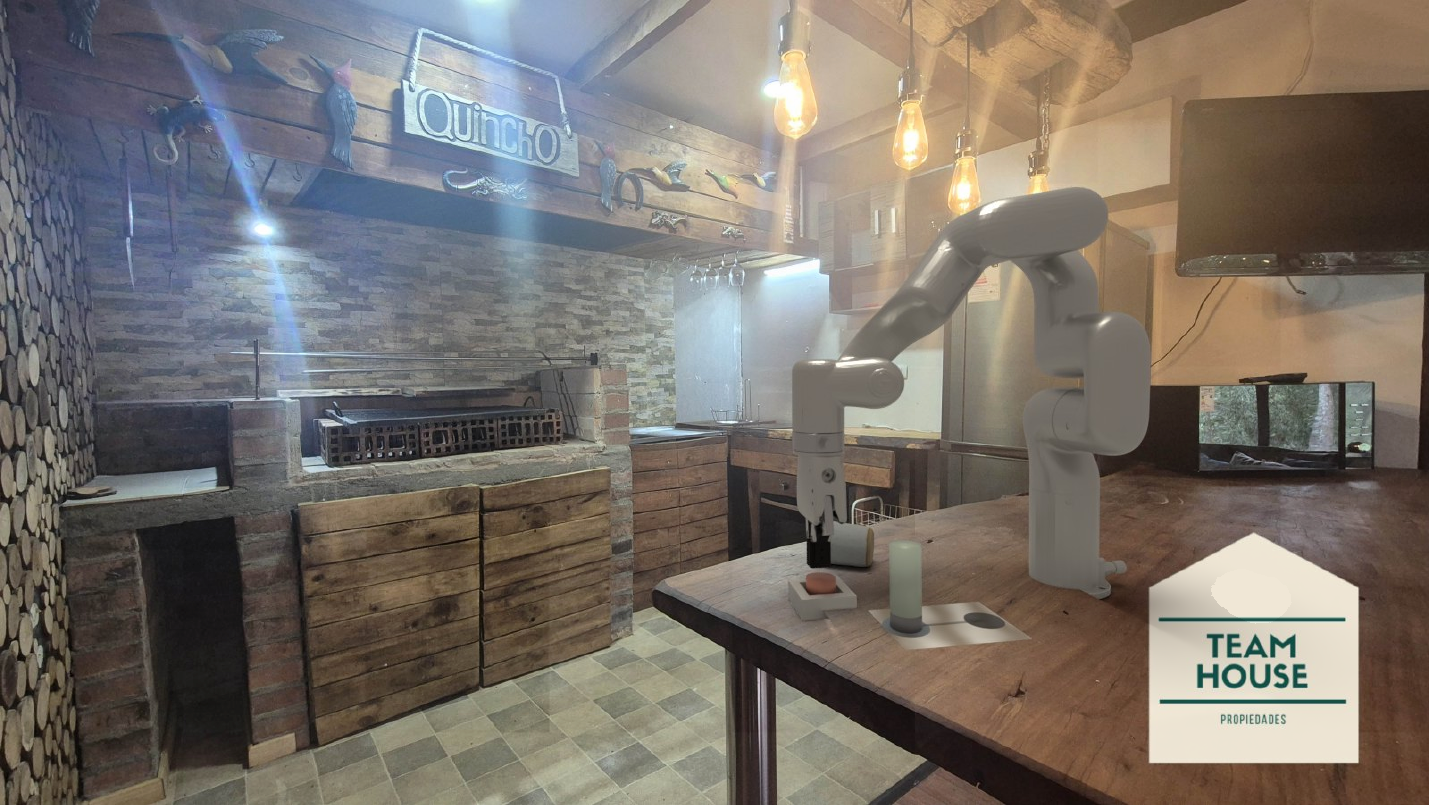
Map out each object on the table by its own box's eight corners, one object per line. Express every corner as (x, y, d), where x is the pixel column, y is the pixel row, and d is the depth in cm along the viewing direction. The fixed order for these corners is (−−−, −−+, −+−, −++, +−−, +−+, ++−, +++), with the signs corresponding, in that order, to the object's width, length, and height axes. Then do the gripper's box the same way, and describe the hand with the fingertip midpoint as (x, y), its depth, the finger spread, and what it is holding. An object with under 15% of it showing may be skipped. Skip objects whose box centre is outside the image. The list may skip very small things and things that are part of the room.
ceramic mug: (870, 573, 98) (870, 529, 98) (823, 568, 101) (823, 526, 101) (876, 555, 108) (876, 515, 108) (833, 551, 111) (833, 512, 111)
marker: (913, 619, 77) (912, 539, 76) (927, 632, 73) (927, 548, 72) (885, 621, 76) (884, 540, 76) (898, 634, 72) (897, 550, 72)
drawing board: (980, 608, 83) (980, 599, 83) (1041, 651, 70) (1041, 640, 70) (861, 617, 81) (861, 608, 81) (902, 664, 68) (902, 653, 68)
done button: (830, 584, 87) (830, 571, 87) (840, 595, 83) (840, 581, 82) (802, 586, 86) (802, 573, 86) (810, 597, 82) (810, 584, 82)
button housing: (838, 594, 89) (837, 576, 89) (856, 616, 81) (856, 595, 81) (788, 598, 88) (788, 579, 88) (802, 620, 80) (802, 600, 80)
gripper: (861, 449, 76) (861, 583, 77) (826, 437, 91) (827, 549, 92) (807, 451, 75) (808, 586, 76) (781, 438, 90) (782, 552, 91)
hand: (818, 566), depth 84 cm, fingers closed
